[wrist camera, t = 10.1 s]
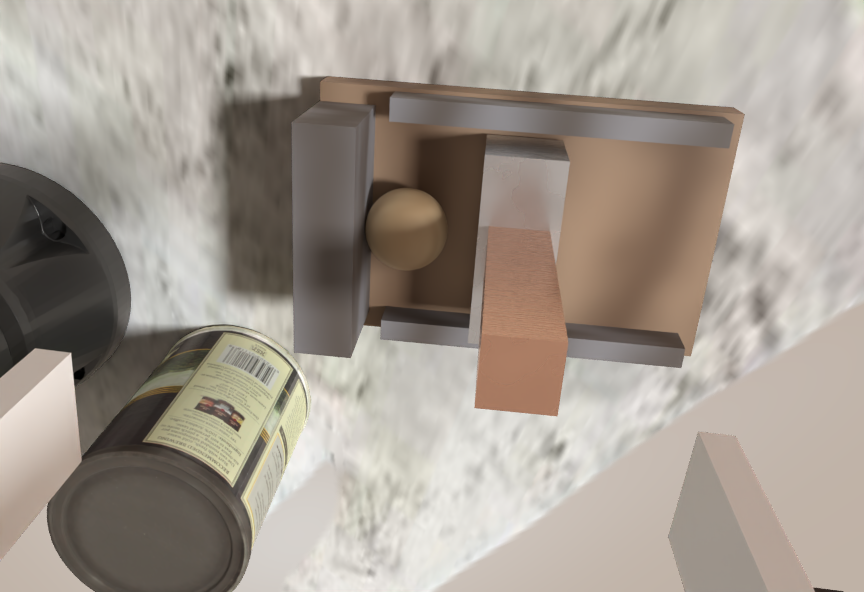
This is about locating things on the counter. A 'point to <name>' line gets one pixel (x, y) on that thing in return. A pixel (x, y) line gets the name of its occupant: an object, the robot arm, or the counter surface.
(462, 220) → the base
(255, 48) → the counter surface
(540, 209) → the sliding jaw
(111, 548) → the coffee can
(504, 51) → the counter surface
